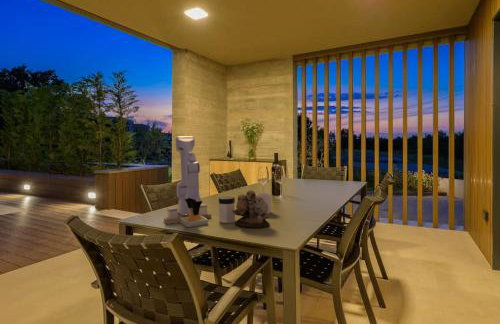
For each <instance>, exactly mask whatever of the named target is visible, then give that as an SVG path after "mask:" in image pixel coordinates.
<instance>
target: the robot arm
mask: <svg viewBox="0 0 500 324" xmlns="http://www.w3.org/2000/svg"><path fill="white" fill-rule="evenodd" d="M195 141H196V139H195V136H194V135H190V136H188V135H187V136H186V135H185V136H184V135H183V136H182V135H181V136H179V135H177V136H175V151H176V152H179V155H180V175H181V177H180V178H181V180H180V181H179V182H178V183H177V184H176V197H177V198H178V204H177V205H178V207H177V208H178V210H177V212H178V214H179V215H185V214H188V208H193V214H194V215H198V214H199V209H200V206H201V204H203V200H201V197H200V182H199V180H200V179H199V178H200V177H199V176H200V175H199V173H200V171H201V166H200V165H201V164H200V162H199V161H198V160H197V157H196V154H195V153H194V152H193V149H194V147H195V144H196V143H195Z"/></svg>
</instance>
